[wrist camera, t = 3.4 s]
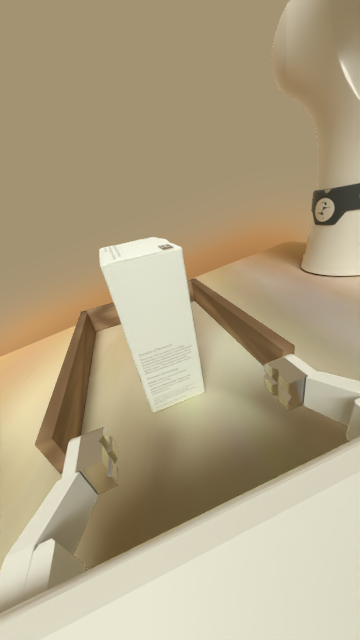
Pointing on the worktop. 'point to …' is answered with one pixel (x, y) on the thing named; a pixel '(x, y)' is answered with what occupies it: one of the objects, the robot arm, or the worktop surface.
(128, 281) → the skincare box
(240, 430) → the worktop surface
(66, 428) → the walnut bay
